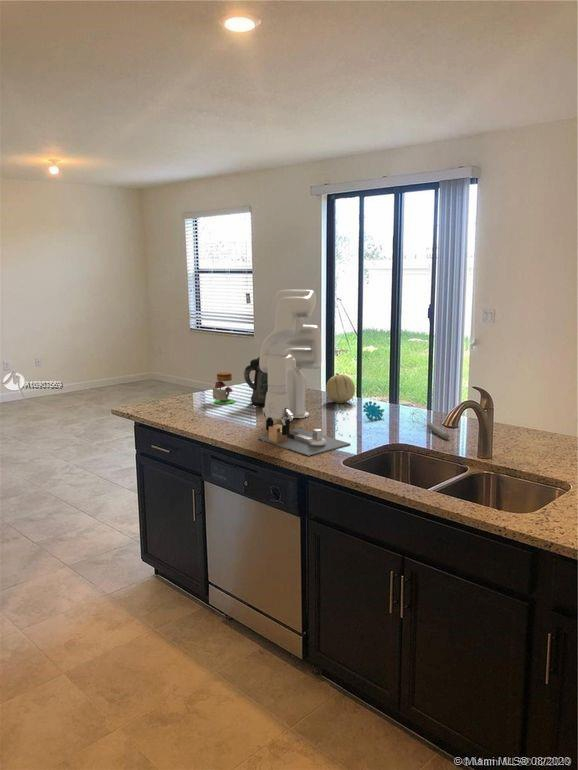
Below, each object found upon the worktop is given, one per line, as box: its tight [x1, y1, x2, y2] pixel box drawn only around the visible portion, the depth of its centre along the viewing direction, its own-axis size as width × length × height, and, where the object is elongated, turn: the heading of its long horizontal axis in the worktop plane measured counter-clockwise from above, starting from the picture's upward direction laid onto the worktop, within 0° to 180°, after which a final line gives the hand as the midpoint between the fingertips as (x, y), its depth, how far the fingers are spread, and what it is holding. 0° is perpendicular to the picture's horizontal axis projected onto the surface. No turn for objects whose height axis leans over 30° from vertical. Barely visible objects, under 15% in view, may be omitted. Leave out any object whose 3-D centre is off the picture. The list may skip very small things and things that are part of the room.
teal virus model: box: [362, 401, 385, 421], centre depth 272 cm, size 11×6×10 cm
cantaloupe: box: [325, 373, 356, 404], centre depth 302 cm, size 15×15×15 cm
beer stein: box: [243, 356, 268, 408], centre depth 297 cm, size 16×19×25 cm
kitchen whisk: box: [409, 408, 450, 441], centre depth 252 cm, size 6×34×6 cm, turn 13°
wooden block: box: [268, 423, 287, 444], centre depth 234 cm, size 5×5×6 cm
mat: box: [257, 428, 351, 457], centre depth 235 cm, size 30×22×1 cm
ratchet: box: [287, 428, 326, 447], centre depth 235 cm, size 24×6×6 cm, turn 41°
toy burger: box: [211, 371, 236, 405], centre depth 305 cm, size 12×13×15 cm
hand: (277, 432), depth 233 cm, fingers open, 9 cm apart
